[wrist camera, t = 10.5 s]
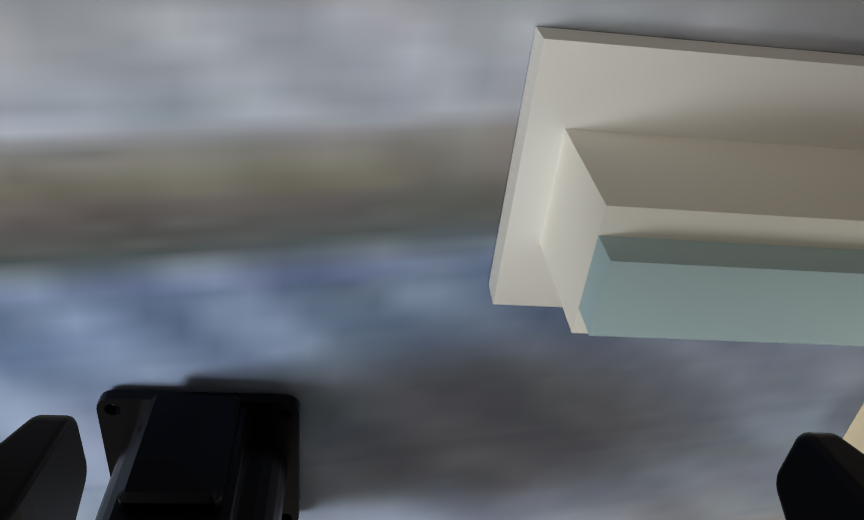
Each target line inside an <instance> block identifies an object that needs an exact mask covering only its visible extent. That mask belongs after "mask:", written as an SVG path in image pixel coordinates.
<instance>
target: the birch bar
mask: <svg viewBox="0 0 864 520" xmlns="http://www.w3.org/2000/svg"><path fill="white" fill-rule="evenodd" d="M843 439H844V440H845V441H846V442H848V443H849V444H851V445H852V446H853V447H855V448H856V449H858V450H859V451H860V452H862V453H863V454H864V404H863V405H862V407H861V409H860V410H859V412H858V414H857V415H856V417H855V419H854V420H853V422H852V424H851V425H850V427H849V429H848V430H847V432H846V434H845V435H844V437H843Z"/></svg>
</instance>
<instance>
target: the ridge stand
mask: <svg viewBox="0 0 864 520" xmlns="http://www.w3.org/2000/svg"><path fill="white" fill-rule="evenodd" d="M489 288H490V293H491V297H492V301H493V304H500V305H523V306H546V307H563V310H564V313H565V315H566V318H567V321H568V324H569V327H570V329H571V332H572V333H586V334H589V336H611V337H637V338H663V339H689V340H715V341H741V342H767V343H794V344H820V345H846V346H864V56H863V55H852V54H841V53H829V52H818V51H807V50H795V49H784V48H773V47H762V46H750V45H739V44H728V43H716V42H705V41H694V40H683V39H671V38H660V37H649V36H638V35H626V34H615V33H604V32H592V31H581V30H570V29H559V28H547V27H536V29H535V35H534V40H533V46H532V51H531V57H530V62H529V67H528V73H527V78H526V84H525V89H524V95H523V100H522V106H521V111H520V117H519V122H518V128H517V133H516V138H515V144H514V149H513V155H512V160H511V166H510V171H509V177H508V182H507V188H506V193H505V198H504V204H503V209H502V215H501V220H500V226H499V231H498V237H497V242H496V248H495V253H494V258H493V264H492V269H491V275H490V280H489Z"/></svg>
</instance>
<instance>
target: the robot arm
mask: <svg viewBox="0 0 864 520" xmlns="http://www.w3.org/2000/svg"><path fill="white" fill-rule="evenodd" d="M111 404H114V405H117V406H118V407H117V406H113V405H111ZM283 408H285V409H289V410H287V411H284V410H281V409H283ZM97 414H98V419H99V424H100V428H101V433H102V438H103V443H104V448H105V453H106V457H107V462H108V467H109V472H110V477H111V478H110V481H109V484H108V486H107V489H106V492H105V495H104V497H103V500H102V503H101V505H100V508H99V511H98V514H97V516H96V519H95V520H298V518H299V500H300V403H299V401H298V400H297V399H296V398H295V397H293V396H291V395H285V394H248V393H211V392H174V391H137V390H109V391H106V392H104V393H103V394H102V395H101V397H100V399H99V401H98V404H97ZM86 472H87V466H86V459H85V455H84V451H83V446H82V442H81V438H80V434H79V429H78V425H77V423H76V421H75V419H74V418H73V417H71V416H67V415H38V416H35V417H33V418H31V419H30V420H28V421H27V422H26V423H25V424H23V425H22V426H21V427H20V428H18V429H17V430H16V431H15V432H14V433H12V434H11V435H10V436H9V437H7V438H6V439H5V440H4V441H3V442H1V443H0V520H76V516H77V513H78V509H79V505H80V501H81V497H82V493H83V489H84V485H85V481H86ZM776 485H777V492H778V496H779V499H780V502H781V505H782V509H783V512H784V515H785V518H786V520H864V454H863V453H862V452H860V451H859V450H858V449H856V448H855V447H853V446H852V445H851V444H849V443H848V442H846V441H845V440H844V439H842V438H841V437H839V436H838V435H835V434H832V433H812V432H807V433H803V434H801V435H800V436H799V437H798V438H797V439H796V441H795V442H794V444H793V446H792V448H791V450H790V452H789V453H788V455H787V457H786V459H785V461H784V462H783V464H782V466H781V468H780V470H779V472H778V475H777V482H776Z"/></svg>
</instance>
